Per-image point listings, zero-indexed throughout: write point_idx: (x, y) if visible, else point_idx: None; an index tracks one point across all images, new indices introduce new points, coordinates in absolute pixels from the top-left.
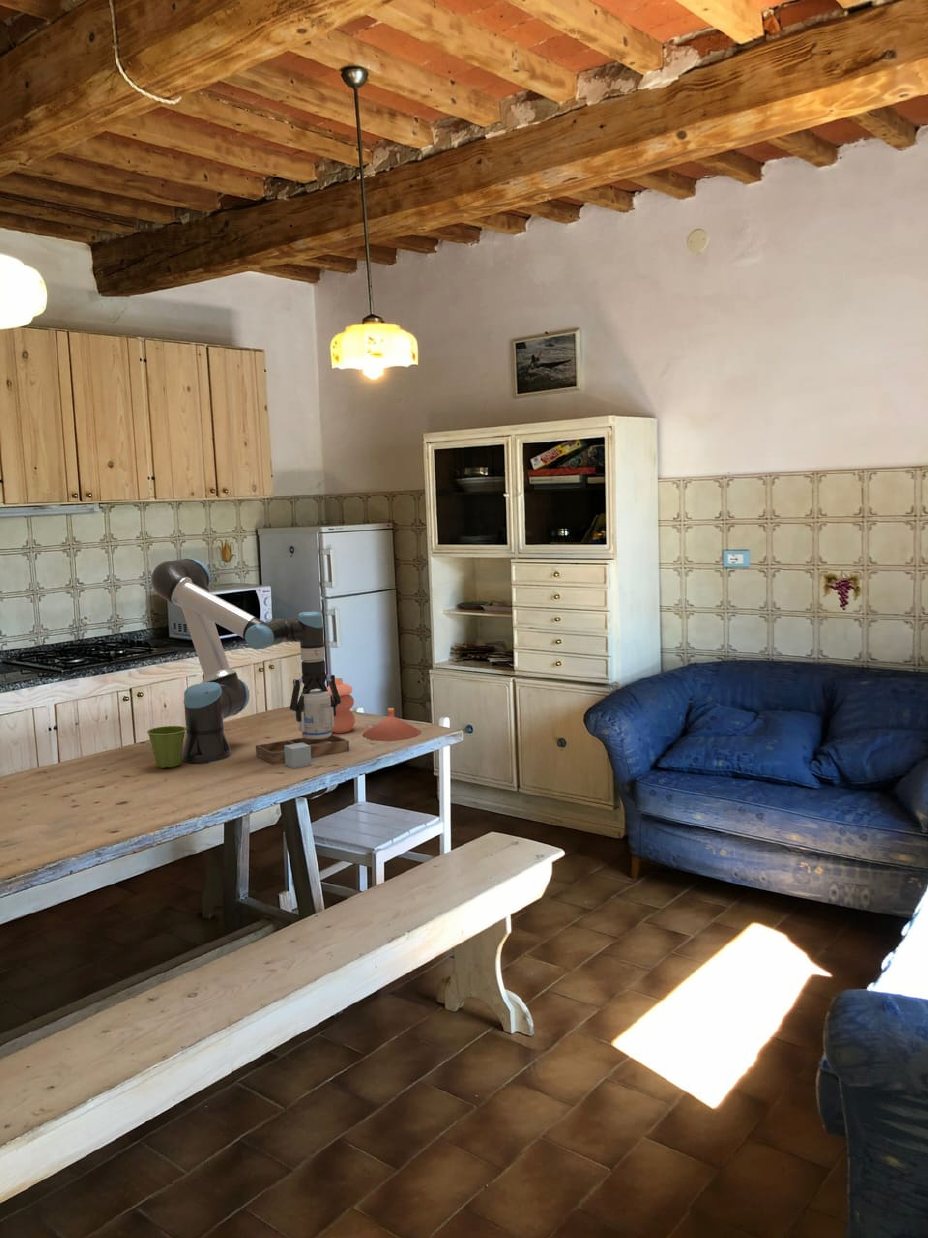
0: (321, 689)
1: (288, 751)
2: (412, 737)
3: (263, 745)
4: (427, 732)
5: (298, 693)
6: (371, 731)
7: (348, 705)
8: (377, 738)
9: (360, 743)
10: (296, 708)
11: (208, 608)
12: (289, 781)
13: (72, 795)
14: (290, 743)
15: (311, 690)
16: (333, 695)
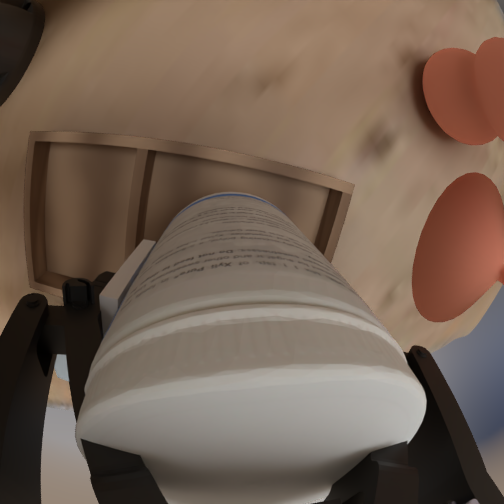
0: (348, 485)
1: None
2: (449, 319)
3: (49, 140)
4: (483, 298)
5: (35, 463)
6: (450, 239)
7: None
8: (421, 281)
9: (377, 271)
10: (61, 349)
11: None
12: (55, 392)
13: None
14: (133, 185)
15: (332, 408)
16: None
